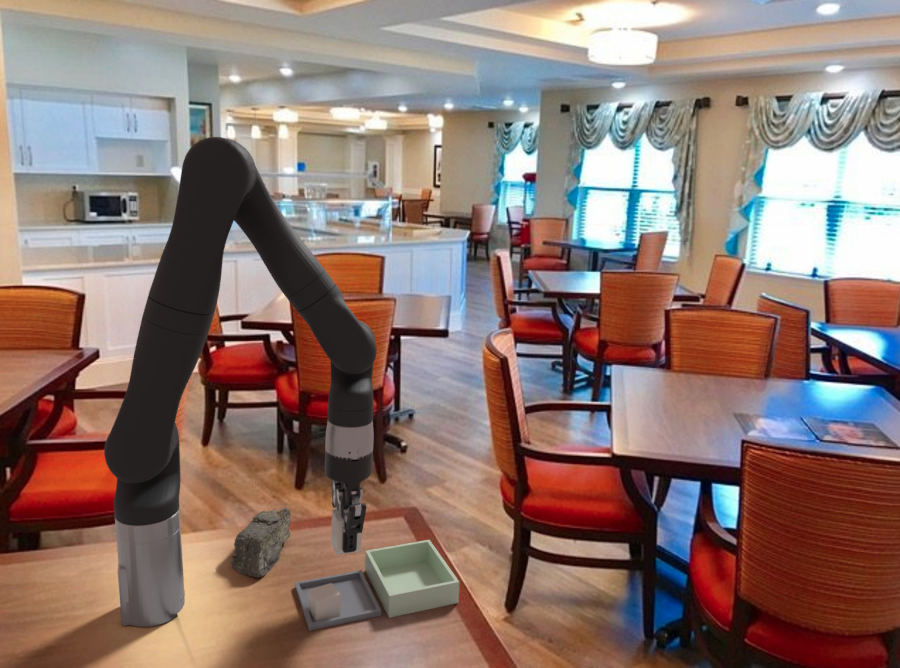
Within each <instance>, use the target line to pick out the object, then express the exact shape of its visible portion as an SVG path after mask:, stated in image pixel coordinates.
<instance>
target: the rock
mask: <svg viewBox="0 0 900 668" xmlns="http://www.w3.org/2000/svg"><path fill="white" fill-rule="evenodd" d="M290 524H291V510H290V508H288V507H284V508H282V509H281V510H275V509H272V510H263V511H260V512H258V513H257V514H255V516H254V517H253V518H252V520H251V521H250V522H249V523H248V524H247V526H246V527H244V528H243V529H242V530H241V531H240V532H239V533H237V535H236V537H235V539H234V542H233V547H234V550H233V553H234V554H233V556H232V557H231V558H230V564H231V565H232V569H233V570H234V571H236V572H238V573H239V574H241V575H245V576H250V577H251V578H257V579H258V578H261V577H263V576H266V574H268V572H269V571H271V570H272V569H273V567H275V565H276V564H277V563H278V562H279V560H280V556H281V551H282V550H283V544H284V543H285V542H286V541H287V540H288V539H289V538H290V536H291V532H290Z"/></svg>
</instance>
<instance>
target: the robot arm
mask: <svg viewBox="0 0 900 668" xmlns="http://www.w3.org/2000/svg"><path fill="white" fill-rule="evenodd" d="M180 172H181V173H180V178H179V179H180V180H179V186H178V193H177V198H176V203H175V210H174V216H173V220H172V224H171V229H170V232H169V235H168V238H167V241H166V243H165V246H164V248H163V250H162V253H161V256H160V259H159V262H158V265H157V267H156V271H155V274H154V277H153V280H152V281H151V282H152V283H151V285H150V288H149V292H148V295H147V298H146V303H145V306H144V309H143V313H142V317H141V321H140V326H139V331H138V334H137V339H136V344H135V347H134V353H133V357H132V363H131V368H130V376H129V380H128V385H127V388H126V392H125V394H124V397H123V400H122V403H121V406H120V407H119V410H118V413H117V416H116V418H115V421H114V422H113V424H112V427H111V429H110V432H109V434H108V436H107V438H106V440H105V443H104V449H103V451H104V452H103V453H104V459H105V460H104V461H105V463H106V466H107V468H108V469H109V471H110V473H111V474H113V475H114V477H115V478H116V487H115V492H114V499H113V512H114V523H115V537H116V548H117V549H116V551H117V561H118V563H117V580H118V591H119V592H118V593H119V605H120V618H121V619H120V621H121V626H123V627H125V626H135V627H138V628H139V627H144V628H147V627H155V626H160V625H162V624H165V623H167V622H170V621H172V620H173V619H175V618H177V616H178V614H179V613H180V612H181V611H182V609H184V607H185V600H186V599H185V595H186V593H185V581H184V580H185V577H184V561H183V549H182V548H183V547H182V546H183V545H182V529H181V512H180V511H181V510H180V491H181V482H182V481H181V478H182V477H181V456H180V455H181V453H180V451H181V449H180V435H179V430H178V425H177V424H176V418H177V415H178V410H179V406H180V403H181V400H182V396H183V394H184V392H185V389H186V387H187V384H188V383H189V380H190V379H191V377H192V374H193V372H194V370H195V369H196V366H197V363H198V362H199V359H200V356H201V354H202V352H203V349H204V347H205V344H206V342H207V339H208V336H209V332H210V330H211V326H212V323H213V319H214V315H215V313H216V308H217V303H218V300H219V295H220V294H219V293H220V288H221V281H222V270H223V259H224V252H225V248H226V244H227V240H228V236H229V234H230V231H231V228H232V226H233V224H234V223H236V224H237V226H239V228H240V229H241V231H242V232H243V233H244V234H245V236H246V237H247V239H248V240H249V241H250V243H251V244H252V246H253V247H254V248H255V250H256V252H257V253H258V255H259V257H260V259H261V261H262V262H263V264H264V265H265V268H266V269H267V271H268V272H269V274H270V276H271V277H272V279H273V280H274V282H275V284H276V285H277V286H278V288H279V289H280V291H281V292H282V293H283V295H284V296H285V298H286V299H287V300H288V302H289V303H290V304H291V305H292V307H293V308H294V309H295V311H297V313H298V315H299V316H301V318H302V319H303V320H304V321H305V322H306V324H307V326H309V328H310V330H311V332H312V334H313V335H314V337H315V339H316V340H317V342H318V344H319V345H320V347H321V349H322V351H323V352H324V353H325V355H326V356H327V358H328V359H329V360H330V387H329V392H328V400H327V401H328V402H327V424H326V429H325V430H326V431H325V444H324V445H325V451H324V452H325V453H324V474H325V476H326V477H327V478H328V479H330V480H331V501H332V502H331V506H332V508H333V509H334V510H335V509H337V510H339V516H340V517H341V518H342V521H343V527H342V530H343V541H342V550H343V552H344V553H348V552H354V551H356V549H357V533H362V534H363V530H364V523H365V519H366V518H365V517H366V512H367V505H366V502H363V503H362V499H363V498H364V494H363V493H364V491H363V487H362V486H361V483H362V482H364V481H365V480H368V478H370V477H371V475H372V473H373V460H374V458H373V456H374V439H375V438H374V436H375V435H374V434H375V433H374V422H373V421H374V390H373V372H374V362H375V360H376V357H377V353H378V352H377V351H378V348H377V343H376V342H377V341H376V336H375V333H374V331H373V330H372V328H371V327H370V326H369V325H368V324H367V323H365V322H363V321H362V320H359V319H358V318H357V316H355V314H354V313H353V311H352V310H351V309H350V308H349V307H348V305H347V303H346V300H345V298H344V296H343V294H342V291H341V290H340V289H339V287H338V285H337V284H336V283H335V281H334V280H333V279H332V277H331V276H330V275H329V273H328V272H327V271H326V269H325V268H324V266H323V265H322V264H321V262H319V260H318V259H317V258H316V256H315V255H314V254H313V252H312V251H311V250H310V249H309V247H308V246H307V245H306V243H305V242H304V241H303V239H302V238H301V237H300V235H299V234H297V232H296V231H295V229H294V228H293V227H292V226H291V224H290V223H289V221H288V220H287V219H286V217H285V216H284V214H283V213H282V211H281V209H280V208H279V207H278V205H277V204H276V202H275V200H274V198H273V197H272V195H271V194H270V192H269V189H268V188H267V186H266V184H265V182H264V180H263V178H262V176H261V174H260V172H259V170H258V168H257V166H256V163H255V161H254V158H253V157H252V155H251V153H250V151H248V150H247V148H246V147H244V146H243V145H242V144H241V143H239V142H237V141H235V140H232V139H230V138H225V137H221V136H211V137H206V138H202V139H200V140H199V141H197V142H196V143H194V144H193V145H192V146H191V147H189V150H188V151H187V153H185V157H184V158H183V163H182V166H181V171H180ZM344 510H348V512H344Z"/></svg>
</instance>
